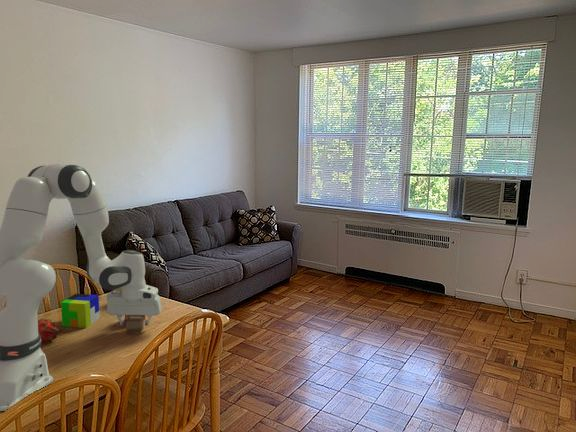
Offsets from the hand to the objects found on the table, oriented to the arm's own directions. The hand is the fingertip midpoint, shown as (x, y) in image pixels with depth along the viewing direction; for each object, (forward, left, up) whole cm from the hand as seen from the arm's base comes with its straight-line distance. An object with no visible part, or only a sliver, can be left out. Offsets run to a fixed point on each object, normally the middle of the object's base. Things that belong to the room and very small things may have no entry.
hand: (135, 324), depth 171 cm
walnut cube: (0, 0, -3) cm, 3 cm away
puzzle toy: (+8, +24, -3) cm, 25 cm away
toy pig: (+28, +12, -3) cm, 30 cm away
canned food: (+10, +3, -3) cm, 10 cm away
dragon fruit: (-8, +30, -3) cm, 31 cm away
